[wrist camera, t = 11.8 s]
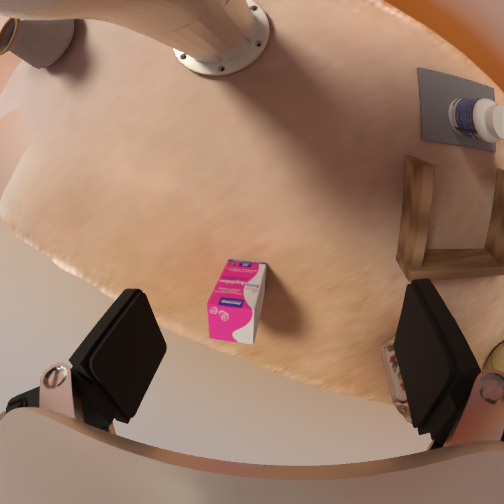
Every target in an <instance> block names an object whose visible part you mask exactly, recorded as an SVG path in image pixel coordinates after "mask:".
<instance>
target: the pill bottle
mask: <svg viewBox="0 0 504 504" xmlns="http://www.w3.org/2000/svg"><path fill="white" fill-rule="evenodd" d="M448 115H449V121H450V124H451V126H452V128H453V129H454V130H455V131H456V132H457V133H458V134H460V135H462V136H465V137H469V138H474V139H478V140H482V141H486V142H492V143H494V142H497V141H499V140H500V139H502V140H504V106H503V105H498V104H496V103H495V102H494V101H492V100H490V99H484V98H475V99H474V98H467V99H456V100H454V101H453V102H452V103H451V104H450V107H449V112H448Z"/></svg>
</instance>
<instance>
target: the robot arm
mask: <svg viewBox="0 0 504 504" xmlns="http://www.w3.org/2000/svg"><path fill="white" fill-rule="evenodd" d="M254 9H257V10H256V11H253V10H254ZM0 14H1V15H4V16H7V17H11V18H16V19H25V20H65V19H94V20H102V21H106V22H110V23H114V24H117V25H120V26H123V27H126V28H129V29H131V30H134V31H136V32H138V33H141V34H143V35H145V36H148V37H150V38H152V39H155V40H157V41H159V42H161V43H164V44H166V45H168V46H170V47H172V49H173V51H174V54H175V56H176V57H177V59H178V60H179V61H180V63H182V64H183V65H184V66H185V67H186V68H188V69H190V70H192V71H194V72H197V73H199V74H203V75H208V76H220V75H228V74H231V73H235V72H237V71H239V70H242V69H244V68H246V67H247V66H249V65H250V64H252V63H253V62H254V61H255V60H256V59H257V58H258V57H259V56H260V55H261V53H262V52H263V51H264V49H265V47H266V45H267V43H268V40H269V35H270V26H269V21H268V18H267V16H266V13H265V12H264V10H263V9H262V8H261V6H259V5H258V4H257V3H256V2H255V1H253V0H0ZM258 44H261V46H260V47H258V46H257V45H258ZM186 56H187V57H186ZM185 57H186V59H184V58H185ZM222 68H225V70H224V71H222ZM166 348H167V347H166V342H165V340H164V338H163V336H162V333H161V331H160V329H159V326H158V324H157V321H156V319H155V317H154V314H153V312H152V309H151V307H150V304H149V301H148V299H147V296H146V294H145V293H143V292H142V291H141V290H140V289H125V290H124V291H123V292H122V294H121V295H120V296H119V297H118V298H117V299H116V301H115V302H114V303H113V304H112V305H111V307H110V308H109V309H108V310H107V312H106V313H105V314H104V315H103V317H102V318H101V319H100V320H99V321H98V323H97V324H96V325H95V326H94V328H93V329H92V330H91V332H90V333H89V334H88V335H87V337H86V338H85V339H84V341H83V342H82V343H81V344H80V346H79V347H78V348H77V350H76V351H75V352H74V354H73V355H72V356H71V358H70V359H69V361H70V362H71V364H72V365H73V367H72V368H71V369H70V368H69V366H68V365H67V364H64V363H57V364H54V365H52V366H51V367H49V368H48V369H47V370H46V371H45V372H44V373H43V375H42V377H41V380H40V386H39V387H37V388H35V389H32V390H30V391H27V392H25V393H22V394H20V395H17V396H16V397H14V398H12V399H11V400H10V401H9V402H8V405H7V408H6V412H3V413H1V414H0V504H504V373H503V372H502V371H500V370H497V369H486V370H484V371H482V372H481V370H480V367H479V365H478V363H477V361H476V359H475V357H474V355H473V353H472V351H471V349H470V347H469V345H468V343H467V341H466V339H465V337H464V335H463V334H462V332H461V330H460V328H459V326H458V324H457V323H456V321H455V319H454V317H453V316H452V315H451V313H450V311H449V310H448V308H447V306H446V305H445V303H444V301H443V300H442V298H441V296H440V295H439V293H438V292H437V290H436V288H435V287H434V285H433V284H432V282H431V281H430V279H429V278H423V279H414V280H412V282H411V284H408V285H407V288H406V292H405V297H404V302H403V307H402V311H401V316H400V320H399V324H398V328H397V332H396V336H395V340H394V352H395V356H396V359H397V363H398V366H399V370H400V373H401V377H402V381H403V385H404V389H405V393H406V397H407V401H408V406H409V410H410V415H411V420H412V424H413V427H414V428H418V433H419V435H422V434H426V433H430V434H431V439H432V442H431V443H430V445H429V447H428V449H427V450H426V451H424V452H420V453H415V454H411V455H406V456H400V457H395V458H389V459H383V460H375V461H368V462H360V463H351V464H339V465H322V466H276V465H258V464H247V463H237V462H229V461H221V460H215V459H208V458H203V457H197V456H192V455H187V454H182V453H177V452H173V451H169V450H165V449H161V448H157V447H153V446H150V445H146V444H143V443H139V442H136V441H133V440H130V439H127V438H124V437H120V436H118V435H116V433H115V429H114V426H113V422H112V421H113V419H114V418H115V419H116V420H117V421H120V422H123V423H126V424H128V423H129V420H130V418H132V417H134V416H135V414H136V412H137V409H138V408H139V406H140V403H141V401H142V399H143V397H144V395H145V393H146V391H147V389H148V387H149V385H150V383H151V381H152V379H153V377H154V374H155V373H156V371H157V369H158V367H159V365H160V363H161V361H162V359H163V357H164V355H165V353H166Z"/></svg>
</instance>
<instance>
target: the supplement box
mask: <svg viewBox="0 0 504 504" xmlns="http://www.w3.org/2000/svg"><path fill="white" fill-rule="evenodd" d="M266 268H267V264H266V263H256V262H246V261H236V260H228V262H227V264H226V266H225V268H224V270H223V272H222V274H221V276H220V278H219V280H218V282H217V284H216V286H215V288H214V290H213V292H212V294H211V296H210V299H209V301H208V303H207V310H208V322H209V337H210V338H213V339H219V340H225V341H231V342H238V343H245V344H254V341H255V337H256V332H257V328H258V323H259V319H260V314H261V310H262V305H263V300H264V295H265V283H266Z"/></svg>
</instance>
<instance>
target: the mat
mask: <svg viewBox="0 0 504 504" xmlns="http://www.w3.org/2000/svg"><path fill="white" fill-rule="evenodd" d="M417 73H418V82H419V93H420V109H421V140H426V141H434V142H441V143H448V144H455V145H461V146H466V147H472V148H477V149H482V150H487V151H492V152H496V142H494V143H492V142H486V141H482V140H478V139H474V138H469V137H465V136H462V135H460V134H458V133H457V132H456V131H455V130H454V129H453V128H452V126H451V124H450V121H449V115H448V112H449V107H450V104H451V103H452V102H453V101H454V100H456V99H467V98H474V99H475V98H484V99H490V100H492V101H494V102H495V97H494V88H491V87H488V86H485V85H482V84H479V83H476V82H473V81H470V80H467V79H463V78H460V77H456V76H453V75H449V74H445V73H441V72H436V71H432V70H427V69H422V68H417Z"/></svg>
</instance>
